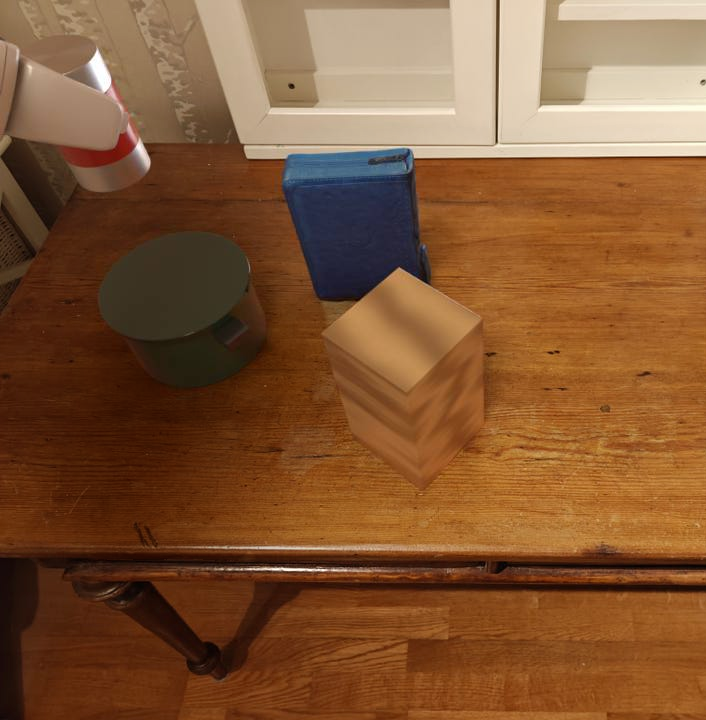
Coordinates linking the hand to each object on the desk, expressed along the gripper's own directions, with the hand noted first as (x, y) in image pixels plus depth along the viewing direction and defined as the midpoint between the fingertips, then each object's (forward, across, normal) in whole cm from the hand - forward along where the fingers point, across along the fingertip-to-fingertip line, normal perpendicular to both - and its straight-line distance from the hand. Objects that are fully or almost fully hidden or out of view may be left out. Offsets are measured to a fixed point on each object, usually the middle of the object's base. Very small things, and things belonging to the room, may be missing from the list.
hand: (89, 108), depth 59 cm
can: (+4, 0, -5) cm, 6 cm away
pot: (+21, 0, -22) cm, 30 cm away
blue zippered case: (+33, +13, -11) cm, 37 cm away
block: (+22, +30, -21) cm, 42 cm away
